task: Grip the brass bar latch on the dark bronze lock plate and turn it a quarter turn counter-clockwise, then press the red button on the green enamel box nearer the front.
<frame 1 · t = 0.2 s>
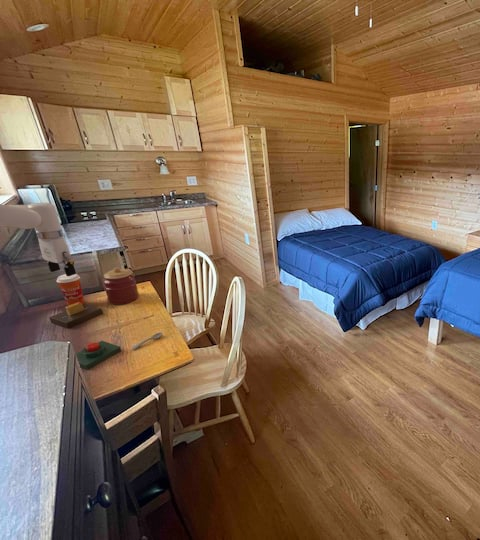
hand: (63, 272, 127), 23 cm above the table, tool pointing down, fingers open, 9 cm apart
latch: (74, 308, 135), point 5 cm above the table, hinge at 0.0°
button box: (95, 356, 115), on the table
coffee cup: (76, 304, 148), on the table
spoon: (148, 342, 125), on the table
kitchen canister: (124, 299, 156), on the table
lock plate: (78, 318, 137), on the table
button: (92, 347, 113), point 4 cm above the table, slide at 0.1 cm
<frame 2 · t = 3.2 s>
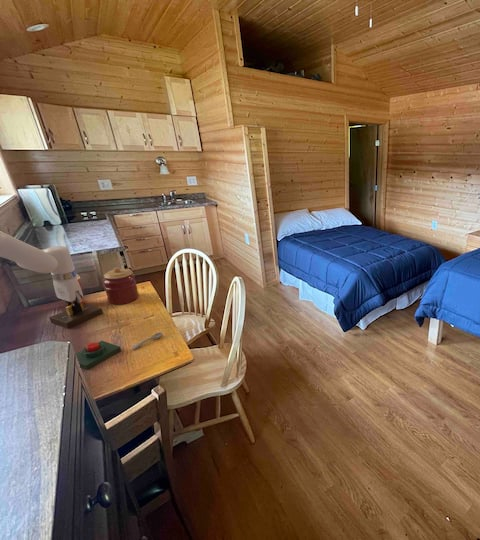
hand: (75, 311, 135), 3 cm above the table, tool pointing down, fingers closed on latch
latch: (74, 308, 135), point 5 cm above the table, hinge at 0.0°, touching gripper
everything else where it was.
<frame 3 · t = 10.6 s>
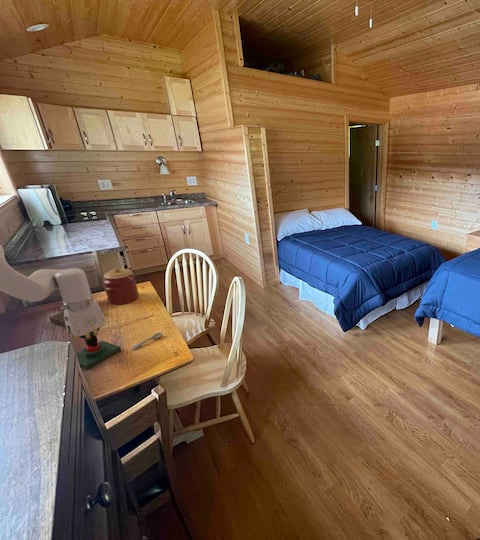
hand: (92, 345, 113), 5 cm above the table, tool pointing down, fingers closed
latch: (74, 308, 135), point 5 cm above the table, hinge at 88.8°
button: (93, 347, 113), point 4 cm above the table, slide at 0.1 cm, touching gripper
everything else where it was.
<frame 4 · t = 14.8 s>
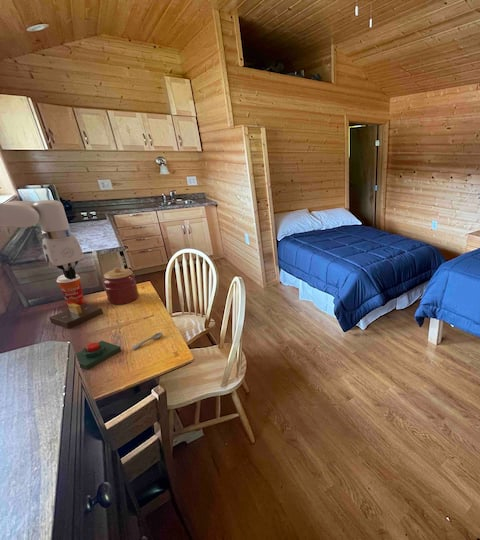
hand: (71, 278, 119), 25 cm above the table, tool pointing down, fingers closed
button: (92, 347, 113), point 4 cm above the table, slide at 0.1 cm
everything else where it was.
at the end: latch at +89° (first picture: +0°); button pushed in 1.1 cm at the most during the clip, back to where it started at the end; button slide at 0.1 cm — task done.
